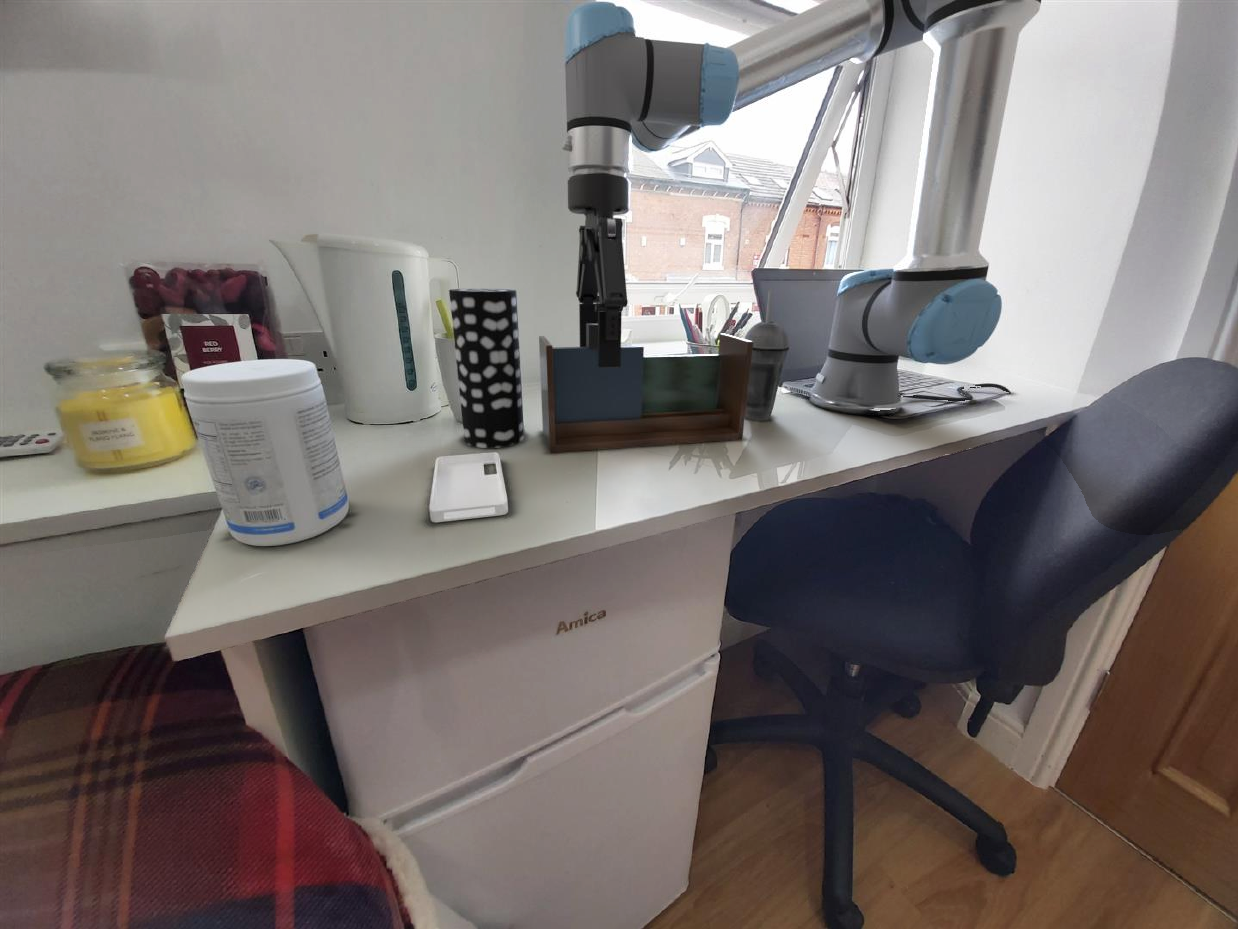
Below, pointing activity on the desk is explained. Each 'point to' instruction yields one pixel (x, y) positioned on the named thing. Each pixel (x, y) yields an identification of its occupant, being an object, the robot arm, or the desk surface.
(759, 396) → the beverage cup
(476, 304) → the white-spotted black cylinder
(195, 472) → the desk surface
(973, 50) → the robot arm
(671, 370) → the wooden desk organizer
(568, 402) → the book
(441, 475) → the phone case
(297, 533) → the supplement tub
